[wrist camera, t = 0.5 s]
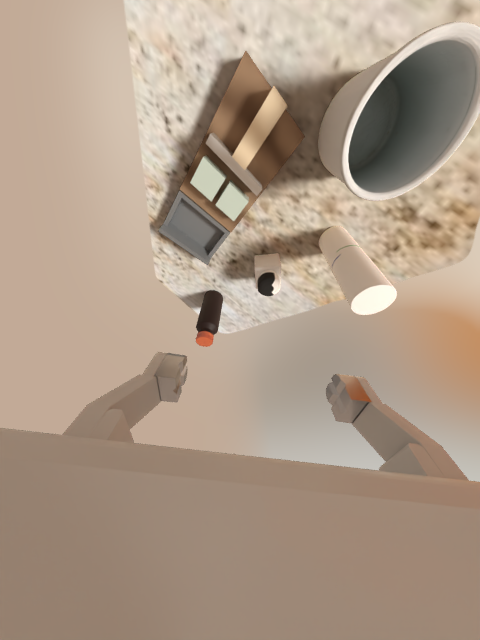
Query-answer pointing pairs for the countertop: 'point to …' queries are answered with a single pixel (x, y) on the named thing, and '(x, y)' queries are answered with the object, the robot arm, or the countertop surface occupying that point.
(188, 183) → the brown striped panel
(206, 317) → the vinegar
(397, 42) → the countertop surface
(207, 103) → the countertop surface
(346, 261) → the cylindrical container
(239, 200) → the tile
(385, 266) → the countertop surface
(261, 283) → the medicine bottle
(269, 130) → the scraper
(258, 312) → the countertop surface
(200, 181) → the tile
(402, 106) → the utensil holder
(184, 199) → the box
